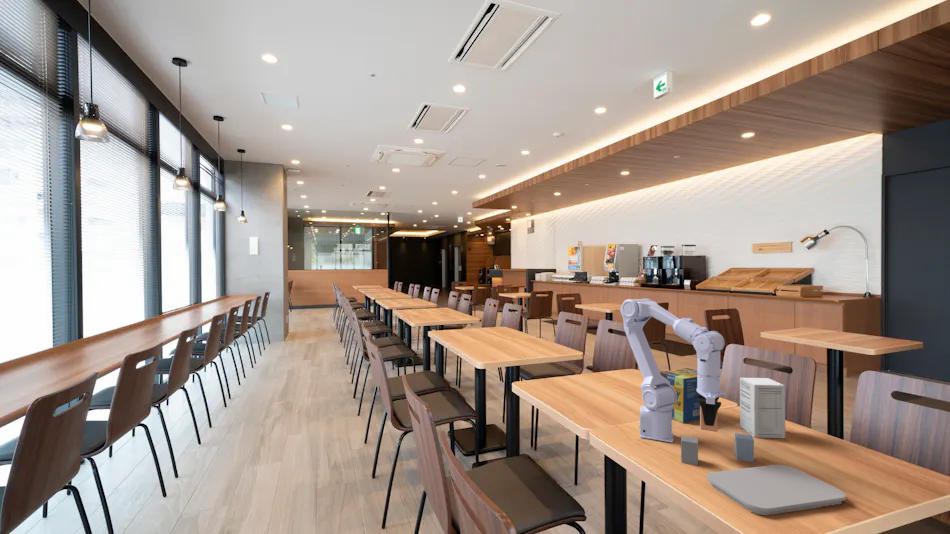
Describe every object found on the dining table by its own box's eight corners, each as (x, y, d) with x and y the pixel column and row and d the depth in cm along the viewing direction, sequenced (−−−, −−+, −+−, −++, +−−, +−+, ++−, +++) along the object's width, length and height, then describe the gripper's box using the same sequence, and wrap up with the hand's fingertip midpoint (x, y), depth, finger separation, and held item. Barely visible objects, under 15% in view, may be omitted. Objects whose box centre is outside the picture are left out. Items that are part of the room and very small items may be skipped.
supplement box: (769, 428, 141) (769, 377, 141) (786, 439, 132) (786, 385, 132) (738, 426, 142) (738, 376, 142) (754, 437, 133) (754, 384, 133)
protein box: (658, 414, 154) (658, 371, 154) (687, 408, 161) (687, 367, 161) (683, 423, 145) (683, 378, 145) (713, 417, 151) (713, 374, 151)
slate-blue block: (736, 459, 118) (736, 437, 118) (734, 453, 121) (734, 432, 121) (753, 462, 116) (753, 440, 116) (751, 456, 120) (751, 435, 120)
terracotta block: (700, 429, 119) (701, 408, 119) (700, 424, 122) (700, 404, 122) (717, 432, 117) (717, 410, 117) (715, 427, 121) (716, 406, 121)
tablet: (700, 482, 105) (700, 473, 105) (785, 472, 111) (785, 463, 111) (757, 520, 90) (757, 510, 90) (853, 506, 95) (853, 496, 95)
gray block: (681, 462, 115) (681, 440, 115) (681, 456, 119) (681, 435, 119) (697, 465, 114) (698, 443, 114) (697, 459, 117) (697, 438, 117)
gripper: (728, 382, 112) (727, 433, 111) (722, 370, 125) (722, 416, 125) (697, 379, 115) (697, 429, 114) (695, 368, 128) (695, 413, 128)
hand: (708, 422), depth 120 cm, fingers closed on terracotta block, 4 cm apart
